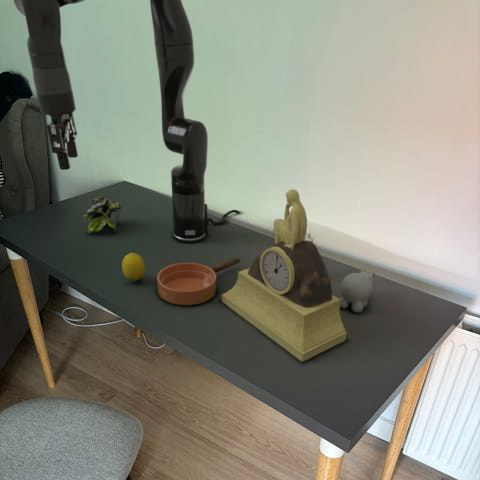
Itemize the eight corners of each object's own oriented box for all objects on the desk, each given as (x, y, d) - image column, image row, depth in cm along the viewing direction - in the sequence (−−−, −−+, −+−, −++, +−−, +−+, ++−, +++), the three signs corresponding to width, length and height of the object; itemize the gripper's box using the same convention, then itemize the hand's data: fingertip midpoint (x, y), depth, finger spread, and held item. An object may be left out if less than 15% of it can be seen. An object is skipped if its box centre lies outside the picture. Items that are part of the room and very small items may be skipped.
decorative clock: (221, 301, 122) (223, 178, 105) (263, 286, 129) (270, 168, 112) (302, 361, 104) (319, 225, 87) (345, 340, 111) (369, 209, 94)
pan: (191, 270, 134) (191, 257, 132) (227, 292, 126) (228, 278, 124) (146, 288, 126) (145, 274, 124) (182, 313, 118) (181, 298, 115)
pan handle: (236, 260, 136) (236, 254, 135) (241, 263, 135) (241, 257, 134) (204, 274, 129) (204, 267, 128) (209, 276, 128) (209, 270, 127)
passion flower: (103, 240, 160) (113, 203, 160) (125, 244, 153) (135, 206, 153) (73, 229, 151) (83, 190, 151) (95, 233, 144) (106, 192, 144)
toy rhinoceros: (382, 297, 126) (388, 266, 121) (359, 317, 118) (365, 286, 113) (356, 287, 130) (361, 257, 125) (332, 306, 122) (337, 275, 117)
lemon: (141, 288, 126) (138, 259, 122) (120, 285, 127) (116, 256, 123) (149, 277, 131) (146, 249, 126) (128, 274, 132) (125, 246, 127)
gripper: (64, 96, 105) (79, 173, 114) (78, 81, 116) (91, 152, 126) (27, 97, 105) (45, 174, 114) (45, 82, 116) (60, 153, 126)
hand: (69, 162), depth 120 cm, fingers open, 8 cm apart
